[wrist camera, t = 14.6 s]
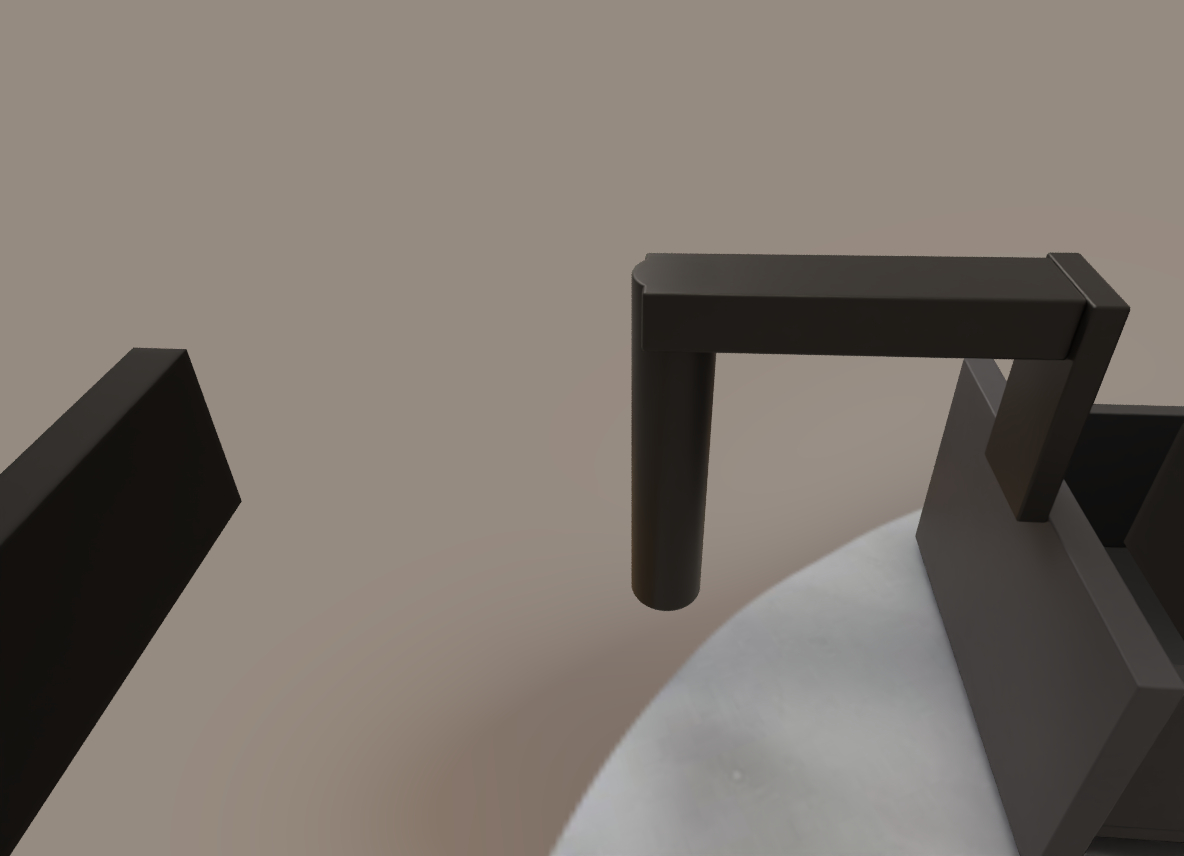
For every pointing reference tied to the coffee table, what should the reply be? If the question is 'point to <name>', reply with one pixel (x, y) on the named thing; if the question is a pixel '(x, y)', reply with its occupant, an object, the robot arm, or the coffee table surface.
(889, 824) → the coffee table surface
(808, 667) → the coffee table surface
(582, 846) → the coffee table surface
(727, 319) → the basket
